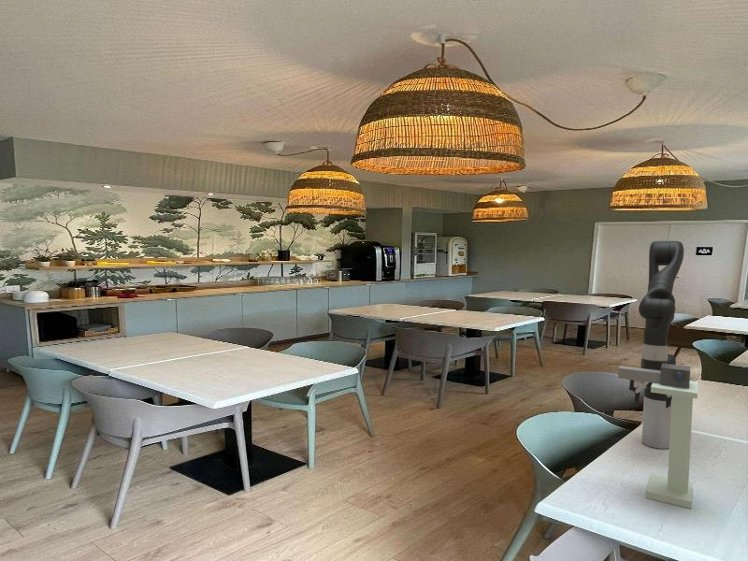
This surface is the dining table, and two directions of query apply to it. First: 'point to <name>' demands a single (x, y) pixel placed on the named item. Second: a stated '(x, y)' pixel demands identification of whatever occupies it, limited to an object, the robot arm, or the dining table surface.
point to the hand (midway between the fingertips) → (652, 405)
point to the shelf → (676, 449)
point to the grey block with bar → (659, 375)
